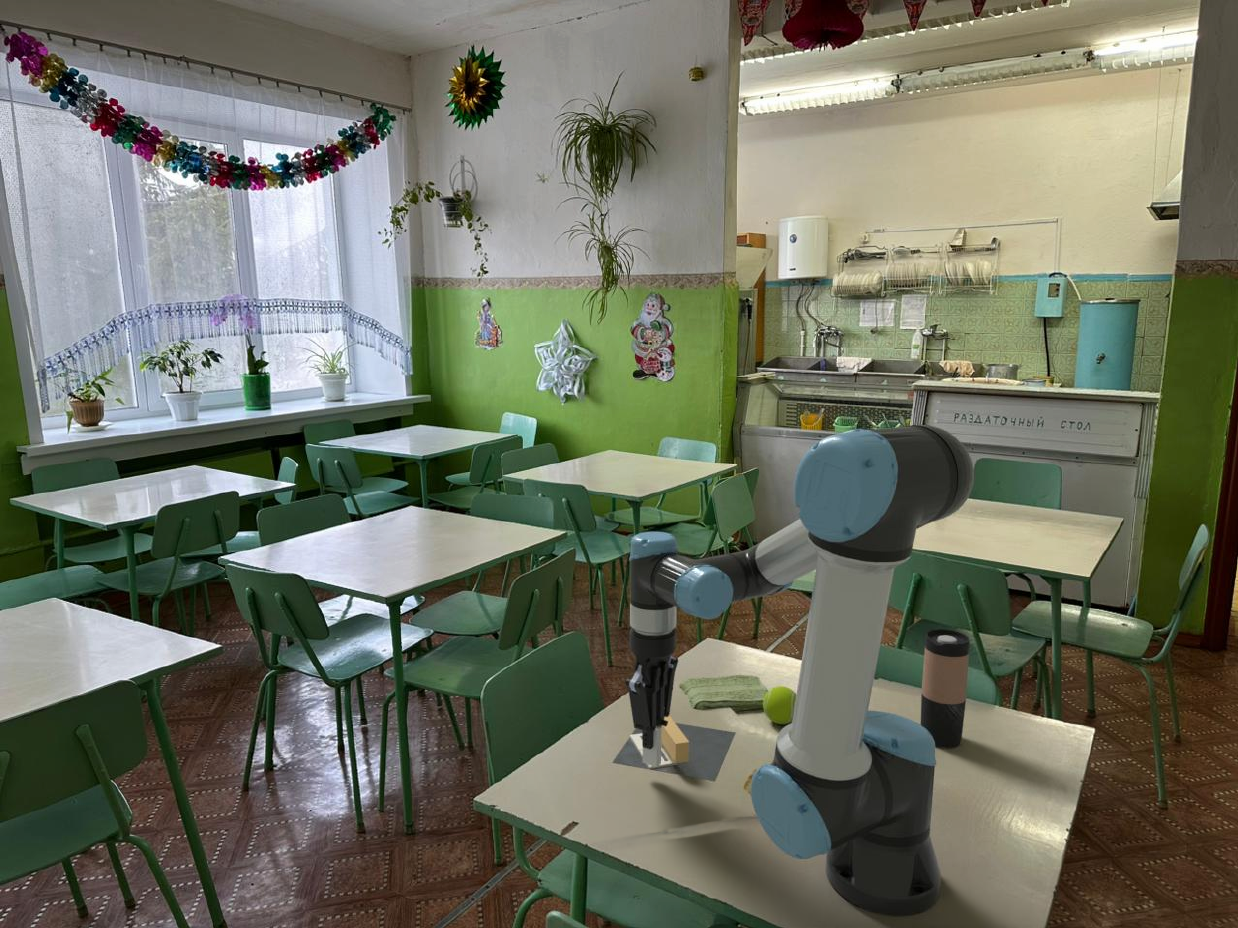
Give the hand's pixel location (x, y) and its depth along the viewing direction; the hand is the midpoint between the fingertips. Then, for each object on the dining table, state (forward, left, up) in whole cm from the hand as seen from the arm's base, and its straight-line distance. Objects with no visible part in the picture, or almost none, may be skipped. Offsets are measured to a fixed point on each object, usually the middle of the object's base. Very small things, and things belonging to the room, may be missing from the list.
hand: (651, 762), depth 139 cm
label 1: (+11, +4, -3) cm, 12 cm away
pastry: (+3, -20, -4) cm, 20 cm away
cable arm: (+11, +1, -1) cm, 11 cm away
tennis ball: (+30, -17, -4) cm, 34 cm away
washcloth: (+36, -5, -5) cm, 37 cm away
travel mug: (+33, -46, -4) cm, 57 cm away
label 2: (+7, +1, -3) cm, 7 cm away
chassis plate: (+11, -1, -4) cm, 12 cm away
